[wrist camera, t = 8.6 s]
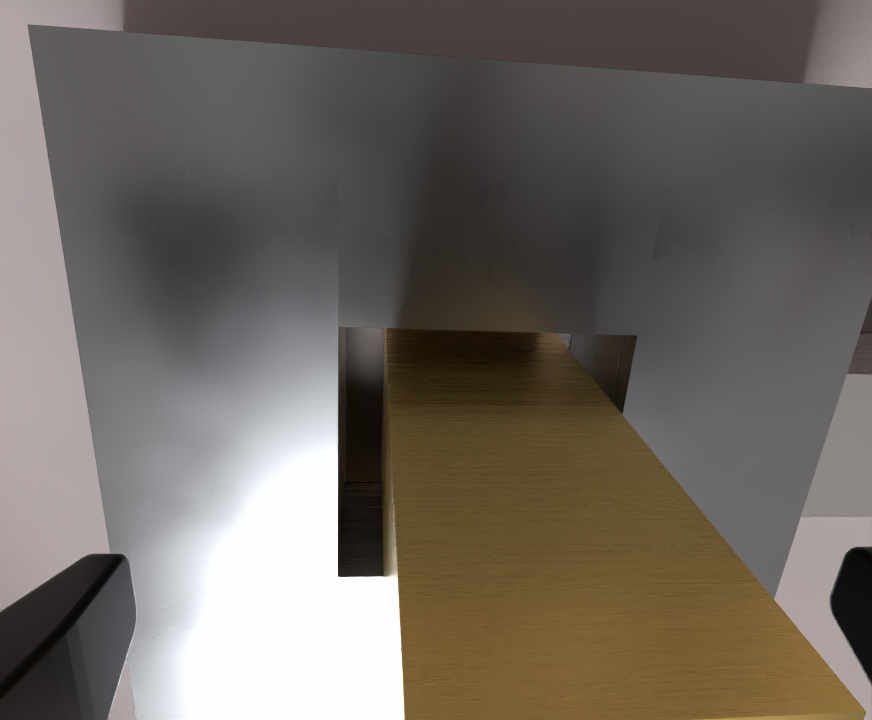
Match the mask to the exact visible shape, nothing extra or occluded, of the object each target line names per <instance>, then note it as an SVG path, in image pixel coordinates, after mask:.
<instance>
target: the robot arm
mask: <svg viewBox="0 0 872 720" xmlns="http://www.w3.org/2000/svg"><path fill="white" fill-rule="evenodd" d="M830 609H831V612H832V615H833V617H834V619H835V621H836V623H837V624H838V626H839V628H840V630H841V632H842V633H843V635H844V637H845V639H846V641H847V642H848V644H849V646H850V648H851V650H852V651H853V653H854V655H855V657H856V658H857V660H858V662H859V664H860V666H861V667H862V669H863V671H864V673H865V675H866V676H867V678H868V680H869V682H870V684H871V685H872V547H855V548H852V549H850V550H849V551H848V552H847V553H846V554H845V556H844V559H843V561H842V564H841V567H840V570H839V572H838V575H837V578H836V581H835V583H834V586H833V589H832V592H831V595H830ZM136 620H137V607H136V600H135V593H134V586H133V579H132V572H131V566H130V562H129V560H128V558H127V557H126V556H125V555H123V554H90V555H87V556H85V557H83V558H81V559H80V560H78V561H77V562H75V563H74V564H72V565H71V566H69V567H68V568H66V569H65V570H63V571H62V572H60V573H59V574H57V575H56V576H54V577H52V578H51V579H49V580H48V581H46V582H45V583H43V584H42V585H40V586H39V587H37V588H36V589H34V590H33V591H31V592H30V593H28V594H27V595H25V596H24V597H22V598H21V599H19V600H18V601H16V602H14V603H13V604H11V605H10V606H8V607H7V608H5V609H4V610H2V611H1V612H0V720H108V717H109V714H110V710H111V707H112V704H113V700H114V697H115V694H116V691H117V687H118V684H119V681H120V677H121V674H122V671H123V668H124V664H125V661H126V658H127V654H128V651H129V648H130V645H131V641H132V638H133V635H134V631H135V627H136Z"/></svg>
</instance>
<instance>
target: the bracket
mask: <svg viewBox="0 0 872 720" xmlns="http://www.w3.org/2000/svg"><path fill="white" fill-rule="evenodd" d="M28 30H29V37H30V43H31V49H32V56H33V62H34V68H35V75H36V81H37V88H38V94H39V100H40V107H41V113H42V120H43V126H44V132H45V139H46V145H47V151H48V158H49V164H50V171H51V177H52V183H53V190H54V196H55V203H56V209H57V215H58V222H59V228H60V234H61V241H62V247H63V254H64V260H65V266H66V273H67V279H68V285H69V292H70V298H71V305H72V311H73V317H74V324H75V330H76V337H77V343H78V349H79V356H80V362H81V368H82V375H83V381H84V388H85V394H86V400H87V407H88V413H89V420H90V426H91V432H92V439H93V445H94V451H95V458H96V464H97V471H98V477H99V483H100V490H101V496H102V502H103V509H104V515H105V522H106V528H107V534H108V541H109V547H110V554H123V555H125V556H126V557H127V558H128V560H129V562H130V566H131V572H132V579H133V586H134V593H135V600H136V607H137V620H136V627H135V631H134V635H133V638H132V641H131V645H130V648H129V651H128V654H127V662H128V668H129V675H130V681H131V688H132V694H133V700H134V707H135V713H136V720H386V683H385V626H384V569H383V512H382V483H345V451H346V342H347V327H365V328H399V329H433V330H467V331H501V332H535V333H569V334H572V338H571V345H570V352H571V353H572V354H573V355H574V356H575V358H576V359H577V360H578V361H579V362H580V364H581V365H582V366H583V367H584V369H585V370H586V371H587V372H588V373H589V375H590V376H591V377H592V378H593V380H594V381H595V382H596V383H597V384H598V386H599V387H600V388H601V389H602V391H603V392H604V393H605V394H606V395H607V397H608V398H609V399H610V400H611V401H612V403H613V404H614V405H615V406H616V408H617V409H618V410H619V411H620V412H621V414H622V415H623V416H624V417H625V419H626V420H627V421H628V422H629V423H630V425H631V426H632V427H633V428H634V429H635V431H636V432H637V433H638V434H639V436H640V437H641V438H642V439H643V440H644V442H645V443H646V444H647V445H648V447H649V448H650V449H651V450H652V451H653V453H654V454H655V455H656V456H657V458H658V459H659V460H660V461H661V462H662V464H663V465H664V466H665V467H666V468H667V470H668V471H669V472H670V473H671V475H672V476H673V477H674V478H675V479H676V481H677V482H678V483H679V484H680V486H681V487H682V488H683V489H684V490H685V492H686V493H687V494H688V495H689V497H690V498H691V499H692V500H693V501H694V503H695V504H696V505H697V506H698V507H699V509H700V510H701V511H702V512H703V514H704V515H705V516H706V517H707V518H708V520H709V521H710V522H711V523H712V525H713V526H714V527H715V528H716V529H717V531H718V532H719V533H720V534H721V536H722V537H723V538H724V539H725V540H726V542H727V543H728V544H729V545H730V546H731V548H732V549H733V550H734V551H735V553H736V554H737V555H738V556H739V557H740V559H741V560H742V561H743V562H744V564H745V565H746V566H747V567H748V568H749V570H750V571H751V572H752V573H753V574H754V576H755V577H756V578H757V579H758V581H759V582H760V583H761V584H762V585H763V587H764V588H765V589H766V590H767V592H768V593H769V594H770V595H771V596H772V598H773V599H774V597H775V594H776V591H777V588H778V585H779V582H780V579H781V576H782V573H783V570H784V567H785V564H786V560H787V557H788V554H789V551H790V548H791V545H792V542H793V539H794V536H795V533H796V530H797V526H798V523H799V520H800V517H872V334H870V333H860V332H861V329H862V326H863V323H864V320H865V317H866V314H867V310H868V307H869V304H870V301H871V298H872V88H859V87H845V86H832V85H819V84H806V83H793V82H779V81H766V80H753V79H740V78H727V77H714V76H700V75H687V74H674V73H661V72H648V71H635V70H621V69H608V68H595V67H582V66H569V65H555V64H542V63H529V62H516V61H503V60H490V59H476V58H463V57H450V56H437V55H424V54H410V53H397V52H384V51H371V50H358V49H345V48H331V47H318V46H305V45H292V44H279V43H266V42H252V41H239V40H226V39H213V38H200V37H186V36H173V35H160V34H147V33H134V32H121V31H107V30H94V29H81V28H68V27H55V26H41V25H28Z"/></svg>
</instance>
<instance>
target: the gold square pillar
mask: <svg viewBox="0 0 872 720" xmlns="http://www.w3.org/2000/svg"><path fill="white" fill-rule="evenodd" d="M382 512H383V569H384V626H385V683H386V720H863V719H864V716H865V714H866V711H865V710H864V709H863V707H862V706H861V705H860V704H859V702H858V701H857V700H856V699H855V698H854V696H853V695H852V694H851V693H850V691H849V690H848V689H847V688H846V687H845V685H844V684H843V683H842V682H841V681H840V679H839V678H838V677H837V676H836V674H835V673H834V672H833V671H832V670H831V668H830V667H829V666H828V665H827V663H826V662H825V661H824V660H823V659H822V657H821V656H820V655H819V654H818V652H817V651H816V650H815V649H814V648H813V646H812V645H811V644H810V643H809V642H808V640H807V639H806V638H805V637H804V635H803V634H802V633H801V632H800V631H799V629H798V628H797V627H796V626H795V624H794V623H793V622H792V621H791V620H790V618H789V617H788V616H787V615H786V613H785V612H784V611H783V610H782V609H781V607H780V606H779V605H778V604H777V603H776V601H775V600H774V599H773V598H772V596H771V595H770V594H769V593H768V592H767V590H766V589H765V588H764V587H763V585H762V584H761V583H760V582H759V581H758V579H757V578H756V577H755V576H754V574H753V573H752V572H751V571H750V570H749V568H748V567H747V566H746V565H745V564H744V562H743V561H742V560H741V559H740V557H739V556H738V555H737V554H736V553H735V551H734V550H733V549H732V548H731V546H730V545H729V544H728V543H727V542H726V540H725V539H724V538H723V537H722V536H721V534H720V533H719V532H718V531H717V529H716V528H715V527H714V526H713V525H712V523H711V522H710V521H709V520H708V518H707V517H706V516H705V515H704V514H703V512H702V511H701V510H700V509H699V507H698V506H697V505H696V504H695V503H694V501H693V500H692V499H691V498H690V497H689V495H688V494H687V493H686V492H685V490H684V489H683V488H682V487H681V486H680V484H679V483H678V482H677V481H676V479H675V478H674V477H673V476H672V475H671V473H670V472H669V471H668V470H667V468H666V467H665V466H664V465H663V464H662V462H661V461H660V460H659V459H658V458H657V456H656V455H655V454H654V453H653V451H652V450H651V449H650V448H649V447H648V445H647V444H646V443H645V442H644V440H643V439H642V438H641V437H640V436H639V434H638V433H637V432H636V431H635V429H634V428H633V427H632V426H631V425H630V423H629V422H628V421H627V420H626V419H625V417H624V416H623V415H622V414H621V412H620V411H619V410H618V409H617V408H616V406H615V405H614V404H613V403H612V401H611V400H610V399H609V398H608V397H607V395H606V394H605V393H604V392H603V391H602V389H601V388H600V387H599V386H598V384H597V383H596V382H595V381H594V380H593V378H592V377H591V376H590V375H589V373H588V372H587V371H586V370H585V369H584V367H583V366H582V365H581V364H580V362H579V361H578V360H577V359H576V358H575V356H574V355H573V354H572V353H571V352H570V350H569V349H568V348H567V347H566V345H565V344H564V343H563V342H562V341H561V339H560V338H559V337H558V336H557V334H556V333H535V332H501V331H467V330H433V329H399V328H385V337H384V377H383V416H382Z"/></svg>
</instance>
